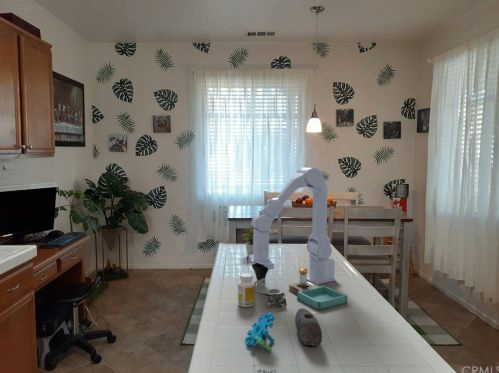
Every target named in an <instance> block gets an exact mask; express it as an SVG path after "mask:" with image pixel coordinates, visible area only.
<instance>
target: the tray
mask: <svg viewBox="0 0 499 373" xmlns="http://www.w3.org/2000/svg"><path fill="white" fill-rule="evenodd" d="M315 287H316V288H312V289H307V290H303V291H298V292H297V294H296V299H297V300H298V301H300V302H302V303H304V304H306V305H308V306H310V307H312V308H313V309H314V310H317V311H318V312H319V311H322V310H327V309H331V308H333V307H337V306H338V307H339V306H341V305H346V304H348V295H347V294H344V293H342V292H341V291H338V290H335V289H333V288H331V287H328V286H326V285H322V286H315Z"/></svg>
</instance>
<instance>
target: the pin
mask: <svg viewBox="0 0 499 373" xmlns="http://www.w3.org/2000/svg"><path fill="white" fill-rule="evenodd" d="M308 272H309V269H307V268H304V267H301V268H298V273H299V283H300V288H306V285H307V283H308V282H307V281H308V280H307V277H308V276H307V275H308V274H309V273H308Z"/></svg>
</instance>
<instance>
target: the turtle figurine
mask: <svg viewBox="0 0 499 373" xmlns="http://www.w3.org/2000/svg"><path fill="white" fill-rule="evenodd" d="M266 303H267V304H268V307H270V306H275V307H282V309H284V308H285V307H287V306H288V304H287V299H286V298H285V297H283V296H282V294H272V295H269V296H268V297H267V301H266Z"/></svg>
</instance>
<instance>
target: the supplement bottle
mask: <svg viewBox="0 0 499 373" xmlns="http://www.w3.org/2000/svg"><path fill="white" fill-rule="evenodd" d="M253 276H254V275H253V274H252V273H247V272H244V273H243V272H242V273H241V274H240V277H239V279H240V280H239V281H238V283H237V294H238V295H237V304H238V306H240V307H243V308H249V307H250V308H251V307H253V306H254V305H255V304H256V299H255V298H256V296H255V294H256V293H255V292H256V291H255V283H254V282H255V281H254V280H253Z"/></svg>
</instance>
